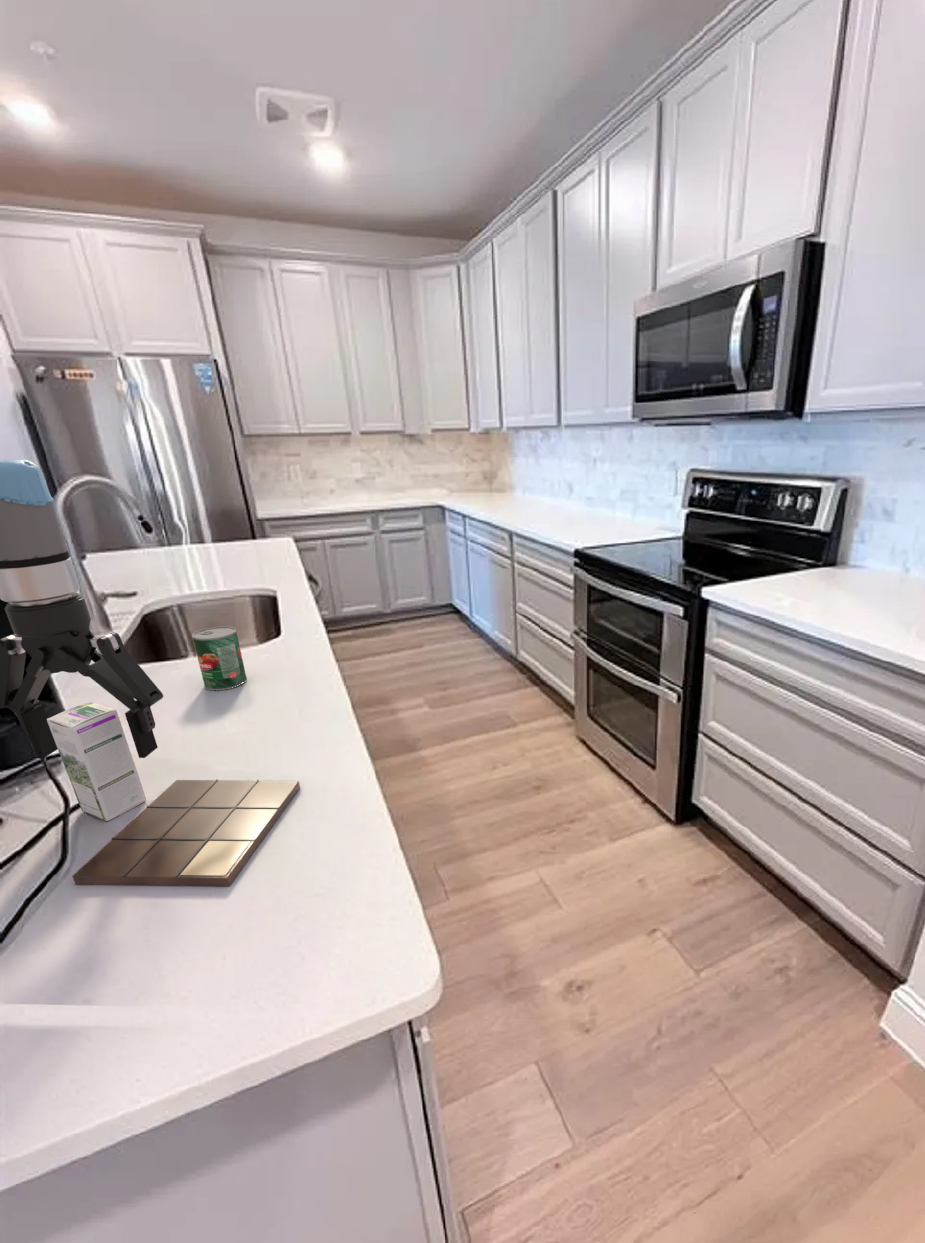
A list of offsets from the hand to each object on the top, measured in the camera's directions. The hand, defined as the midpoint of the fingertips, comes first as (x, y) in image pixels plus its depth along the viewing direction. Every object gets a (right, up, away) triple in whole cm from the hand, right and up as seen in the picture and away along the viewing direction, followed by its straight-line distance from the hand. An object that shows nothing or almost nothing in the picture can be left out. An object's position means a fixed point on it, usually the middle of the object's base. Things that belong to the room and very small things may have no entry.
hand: (98, 753), depth 78 cm
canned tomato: (-6, +8, +43) cm, 44 cm away
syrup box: (0, -8, +3) cm, 9 cm away
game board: (+15, -10, -2) cm, 18 cm away
